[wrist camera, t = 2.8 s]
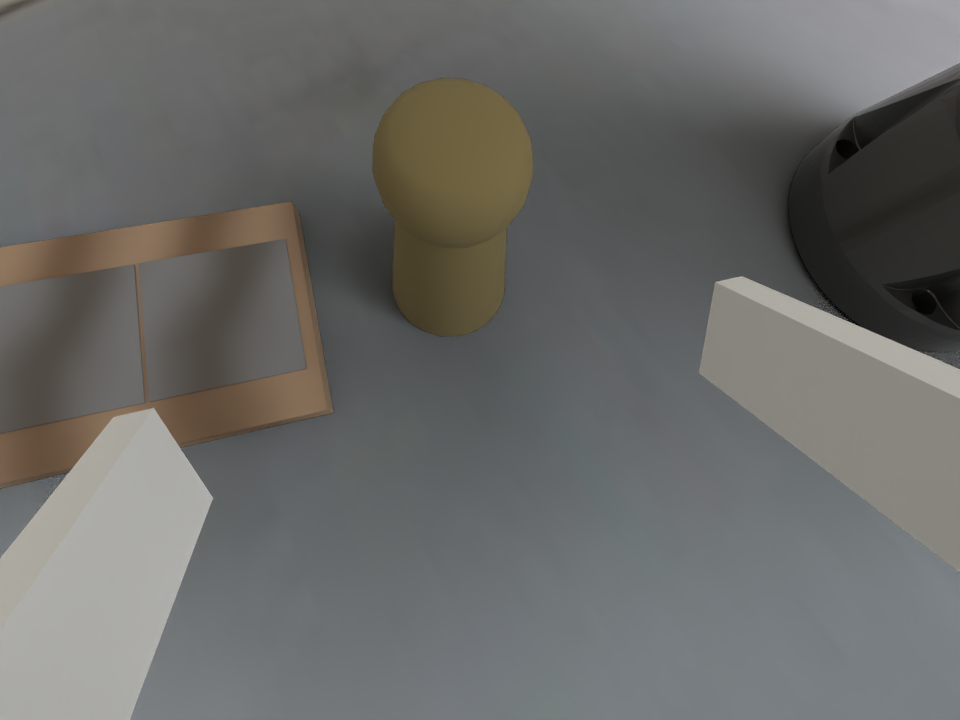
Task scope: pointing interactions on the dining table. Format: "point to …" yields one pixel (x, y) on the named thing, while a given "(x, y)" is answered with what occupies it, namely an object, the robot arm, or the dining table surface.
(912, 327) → the robot arm
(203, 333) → the brown frame
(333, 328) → the dining table surface
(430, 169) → the cork
